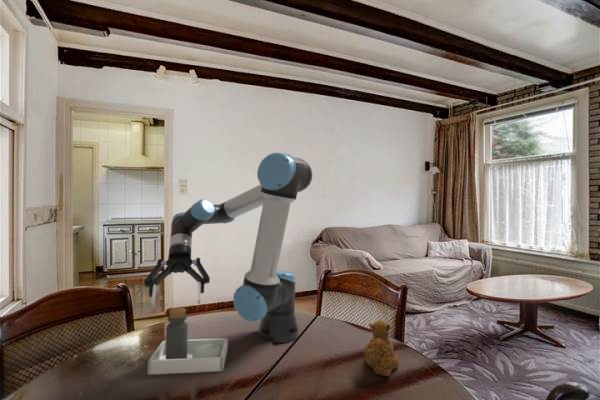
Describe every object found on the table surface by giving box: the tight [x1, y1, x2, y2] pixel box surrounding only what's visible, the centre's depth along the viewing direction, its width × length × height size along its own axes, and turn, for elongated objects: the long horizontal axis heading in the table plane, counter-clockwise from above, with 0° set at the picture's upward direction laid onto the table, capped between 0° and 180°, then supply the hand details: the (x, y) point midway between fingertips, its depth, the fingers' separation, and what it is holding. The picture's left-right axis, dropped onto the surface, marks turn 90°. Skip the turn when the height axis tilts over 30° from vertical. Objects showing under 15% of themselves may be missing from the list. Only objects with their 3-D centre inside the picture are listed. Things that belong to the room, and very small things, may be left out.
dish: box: [192, 344, 221, 358], centre depth 92 cm, size 8×8×3 cm
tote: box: [146, 337, 229, 376], centre depth 91 cm, size 20×13×4 cm, turn 97°
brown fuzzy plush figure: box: [363, 319, 400, 377], centre depth 91 cm, size 10×14×13 cm
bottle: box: [165, 307, 189, 359], centre depth 91 cm, size 6×6×15 cm
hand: (176, 303), depth 97 cm, fingers open, 13 cm apart
